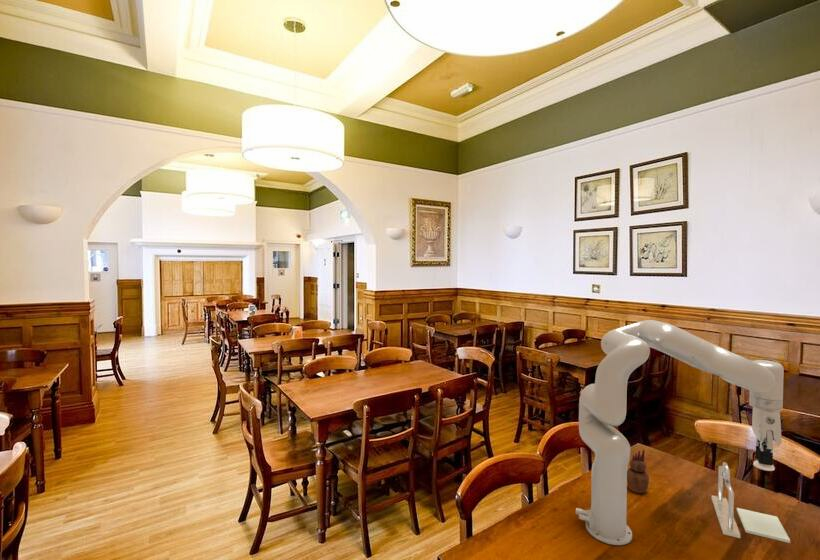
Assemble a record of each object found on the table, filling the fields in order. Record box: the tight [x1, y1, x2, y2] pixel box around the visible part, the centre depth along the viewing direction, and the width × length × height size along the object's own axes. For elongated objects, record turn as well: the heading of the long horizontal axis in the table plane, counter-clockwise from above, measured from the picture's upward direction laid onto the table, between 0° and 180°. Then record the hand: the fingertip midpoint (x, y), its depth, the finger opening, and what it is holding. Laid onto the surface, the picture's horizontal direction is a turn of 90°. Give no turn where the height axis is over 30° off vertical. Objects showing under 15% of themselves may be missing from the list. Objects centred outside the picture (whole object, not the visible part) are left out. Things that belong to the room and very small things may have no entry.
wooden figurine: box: [627, 449, 650, 494], centre depth 142 cm, size 7×6×15 cm
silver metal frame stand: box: [711, 461, 741, 539], centre depth 127 cm, size 4×20×17 cm, turn 151°
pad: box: [736, 507, 791, 544], centre depth 123 cm, size 10×12×1 cm
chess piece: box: [752, 440, 776, 472], centre depth 122 cm, size 5×5×10 cm
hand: (763, 461), depth 122 cm, fingers closed on chess piece
